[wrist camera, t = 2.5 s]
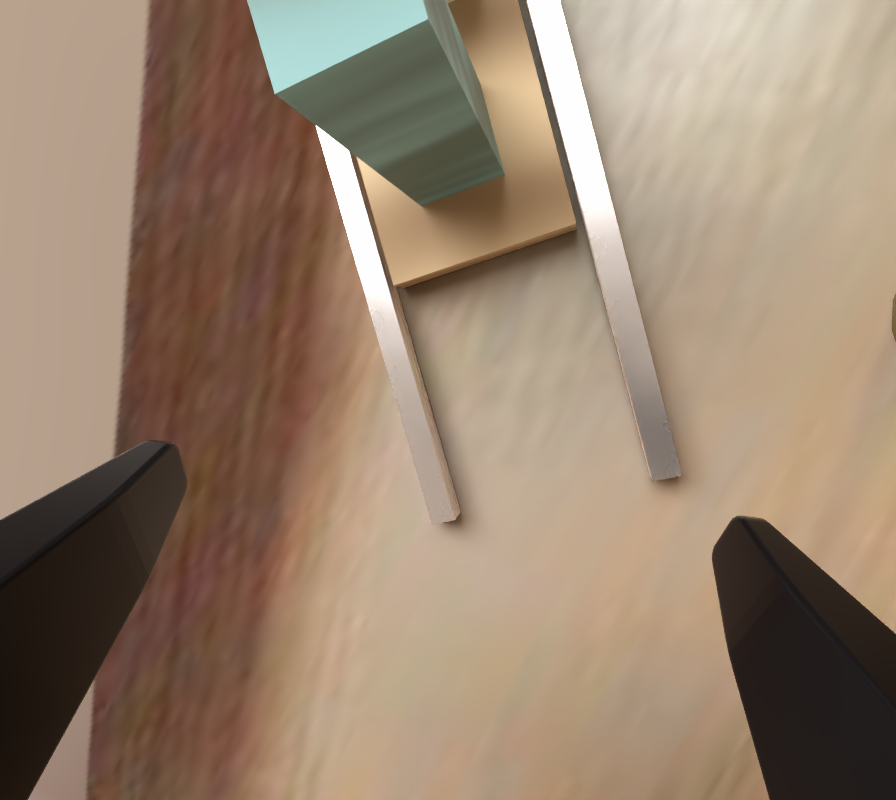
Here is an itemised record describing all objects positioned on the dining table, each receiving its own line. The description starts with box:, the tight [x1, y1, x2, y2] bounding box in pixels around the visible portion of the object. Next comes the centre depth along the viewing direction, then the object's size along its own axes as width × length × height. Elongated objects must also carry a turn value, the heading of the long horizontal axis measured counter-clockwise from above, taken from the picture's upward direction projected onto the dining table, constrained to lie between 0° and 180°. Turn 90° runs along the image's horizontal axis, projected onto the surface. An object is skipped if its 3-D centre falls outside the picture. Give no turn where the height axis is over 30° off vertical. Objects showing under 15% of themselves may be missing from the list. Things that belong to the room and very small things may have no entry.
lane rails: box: [316, 0, 682, 525], centre depth 19 cm, size 27×10×1 cm, turn 18°
